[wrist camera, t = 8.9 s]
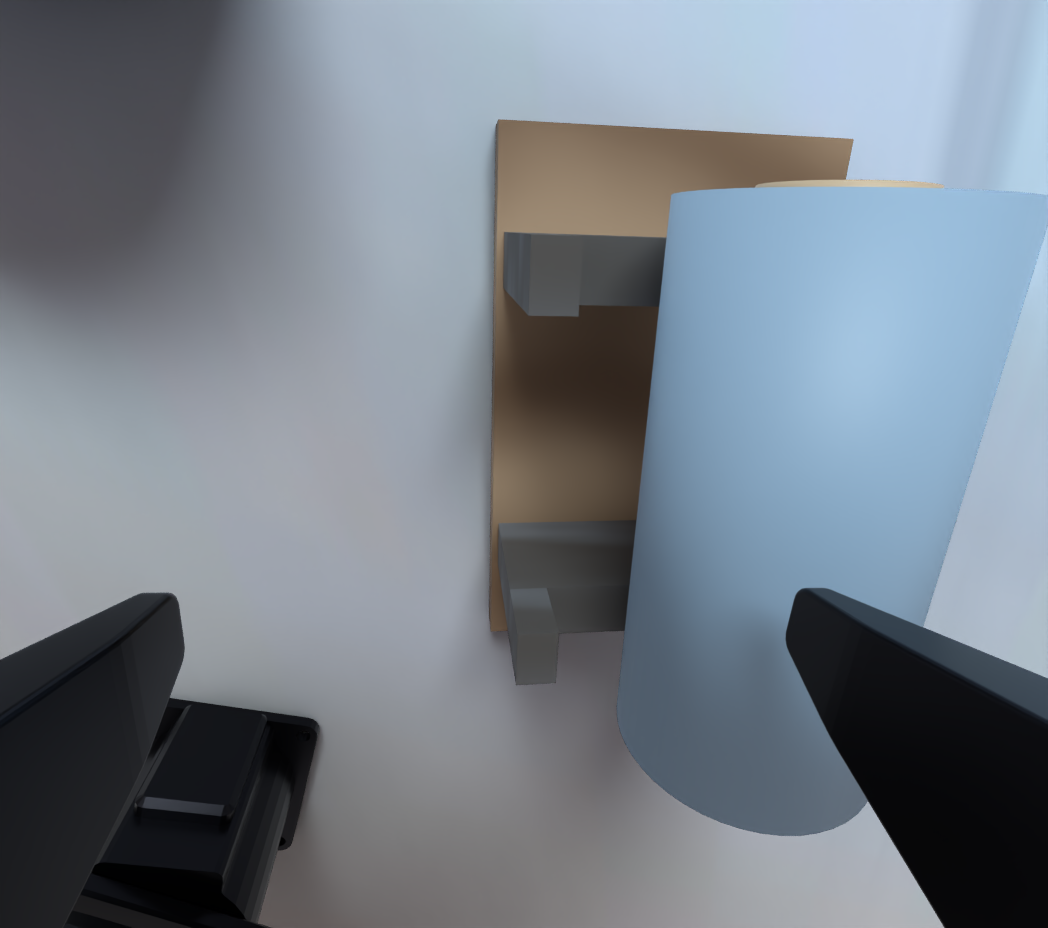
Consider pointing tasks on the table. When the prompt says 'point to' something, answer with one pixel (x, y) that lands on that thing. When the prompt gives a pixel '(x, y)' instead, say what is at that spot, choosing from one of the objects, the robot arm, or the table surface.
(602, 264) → the holder
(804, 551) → the roll
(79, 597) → the table surface
